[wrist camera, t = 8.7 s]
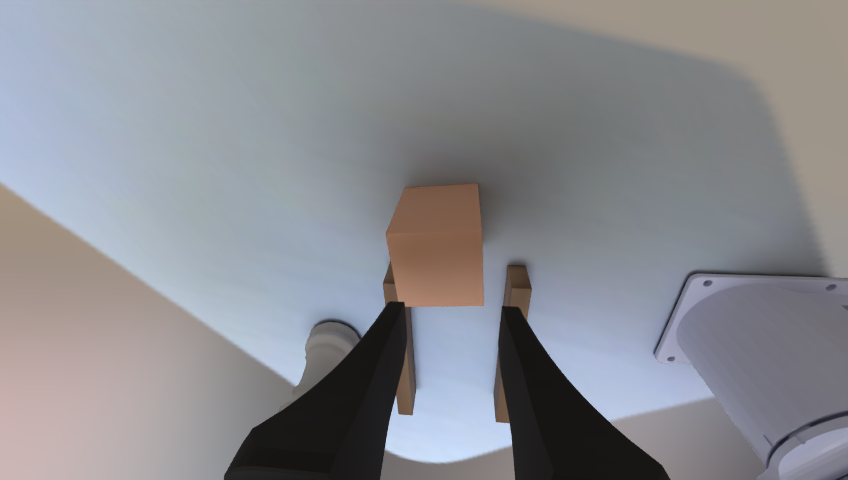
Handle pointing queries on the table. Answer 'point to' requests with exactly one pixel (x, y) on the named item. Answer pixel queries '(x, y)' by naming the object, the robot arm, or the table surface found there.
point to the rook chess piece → (324, 354)
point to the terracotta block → (437, 246)
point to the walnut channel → (514, 296)
